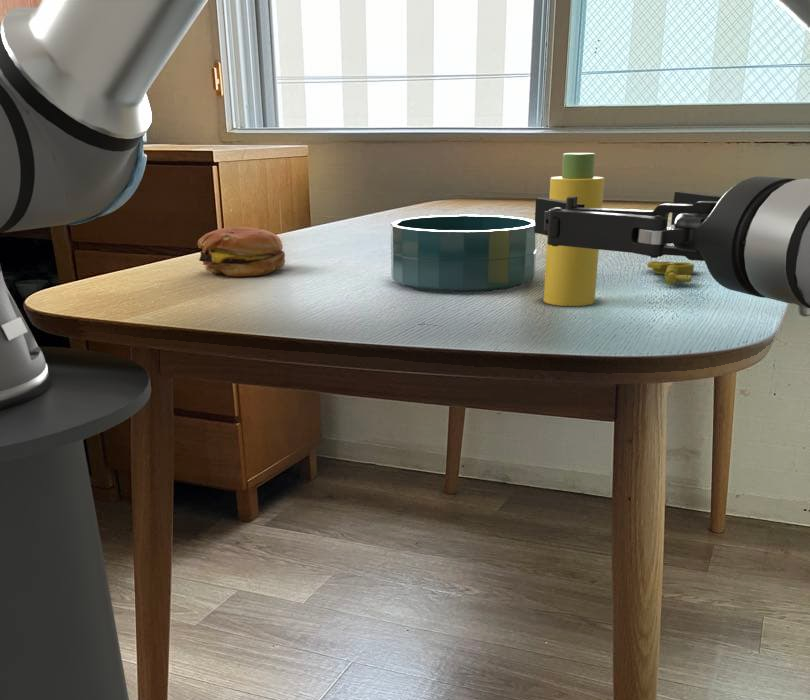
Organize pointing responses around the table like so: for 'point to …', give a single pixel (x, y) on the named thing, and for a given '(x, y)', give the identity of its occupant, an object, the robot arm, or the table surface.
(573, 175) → the yellow bottle green cap
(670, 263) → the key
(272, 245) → the burger
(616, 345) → the table surface
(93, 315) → the table surface
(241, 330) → the table surface
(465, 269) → the teal pet bowl
